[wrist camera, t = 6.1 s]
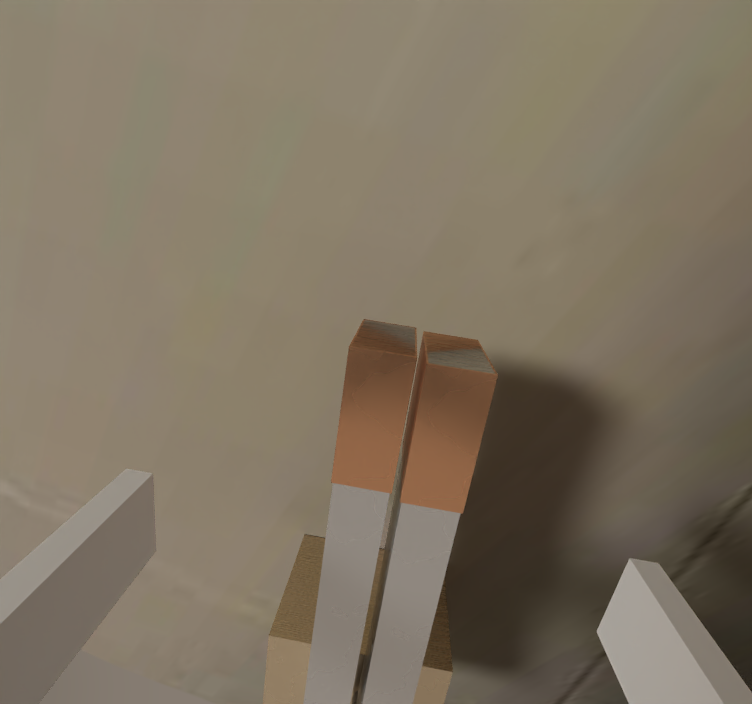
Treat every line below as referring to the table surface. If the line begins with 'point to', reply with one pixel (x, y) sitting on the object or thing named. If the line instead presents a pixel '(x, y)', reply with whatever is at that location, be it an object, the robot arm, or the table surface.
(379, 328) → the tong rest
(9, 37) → the table surface
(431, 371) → the tong arm
